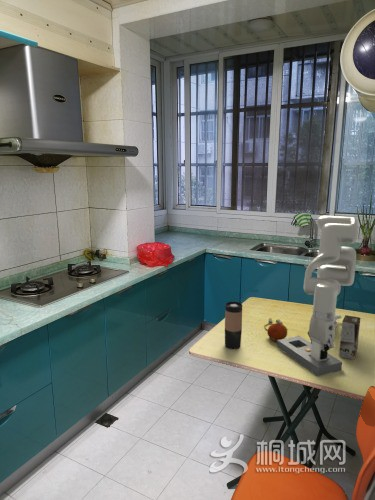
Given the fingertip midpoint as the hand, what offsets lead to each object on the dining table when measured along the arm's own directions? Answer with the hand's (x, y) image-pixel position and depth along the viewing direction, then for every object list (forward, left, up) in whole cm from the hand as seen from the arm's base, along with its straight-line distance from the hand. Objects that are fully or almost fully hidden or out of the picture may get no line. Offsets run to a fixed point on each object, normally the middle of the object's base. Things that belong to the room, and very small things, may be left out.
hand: (319, 355), depth 148 cm
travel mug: (+24, -28, -4) cm, 38 cm away
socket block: (0, -6, -4) cm, 8 cm away
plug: (0, 0, -2) cm, 2 cm away
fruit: (+1, -26, -5) cm, 27 cm away
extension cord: (-7, -38, -5) cm, 39 cm away
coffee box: (-19, -2, -5) cm, 20 cm away
